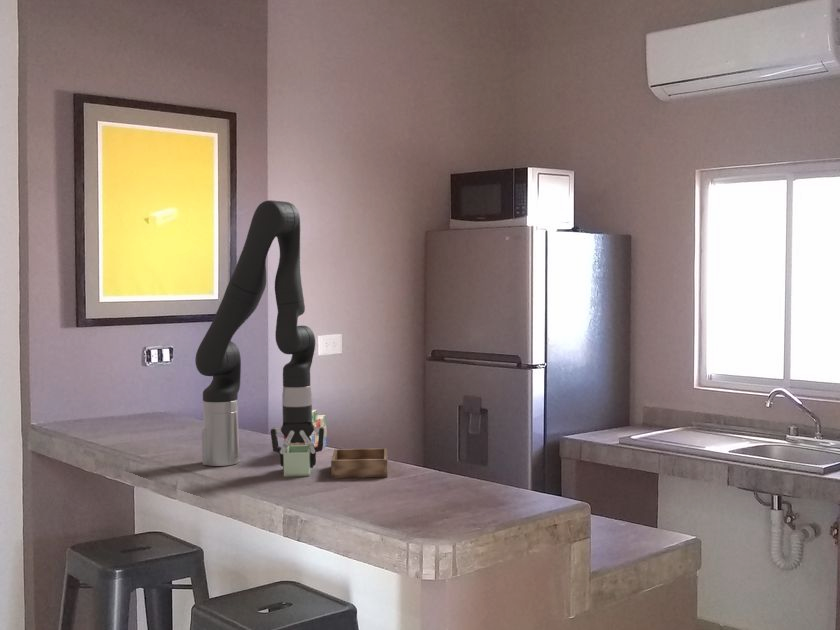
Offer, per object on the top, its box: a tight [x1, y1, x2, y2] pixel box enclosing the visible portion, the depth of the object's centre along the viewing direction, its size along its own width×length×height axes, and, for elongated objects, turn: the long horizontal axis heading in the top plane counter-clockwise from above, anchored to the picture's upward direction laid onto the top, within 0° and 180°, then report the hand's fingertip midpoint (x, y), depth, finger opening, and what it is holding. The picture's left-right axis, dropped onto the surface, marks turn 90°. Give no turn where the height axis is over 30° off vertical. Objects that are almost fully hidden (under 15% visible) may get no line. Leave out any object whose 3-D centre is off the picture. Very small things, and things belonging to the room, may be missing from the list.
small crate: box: [283, 445, 313, 478], centre depth 245 cm, size 6×10×6 cm, turn 2°
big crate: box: [330, 447, 389, 479], centre depth 245 cm, size 14×15×4 cm
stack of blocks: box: [283, 409, 328, 449], centre depth 271 cm, size 21×6×12 cm, turn 170°
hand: (298, 467), depth 245 cm, fingers closed on small crate, 6 cm apart
